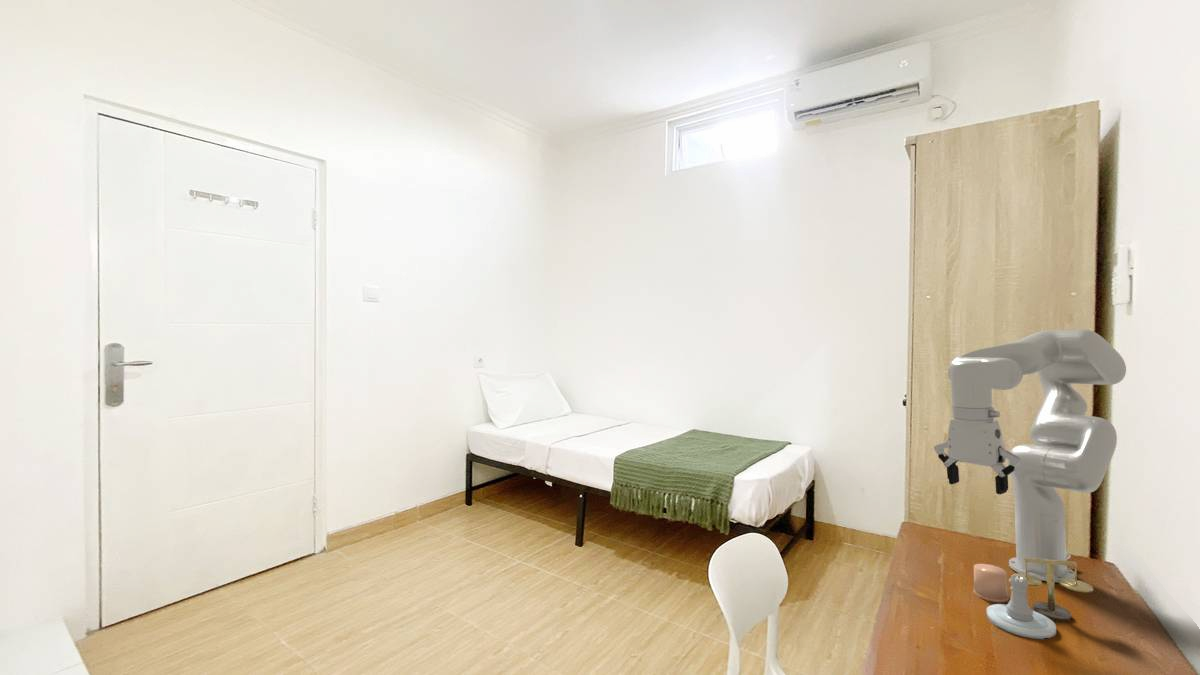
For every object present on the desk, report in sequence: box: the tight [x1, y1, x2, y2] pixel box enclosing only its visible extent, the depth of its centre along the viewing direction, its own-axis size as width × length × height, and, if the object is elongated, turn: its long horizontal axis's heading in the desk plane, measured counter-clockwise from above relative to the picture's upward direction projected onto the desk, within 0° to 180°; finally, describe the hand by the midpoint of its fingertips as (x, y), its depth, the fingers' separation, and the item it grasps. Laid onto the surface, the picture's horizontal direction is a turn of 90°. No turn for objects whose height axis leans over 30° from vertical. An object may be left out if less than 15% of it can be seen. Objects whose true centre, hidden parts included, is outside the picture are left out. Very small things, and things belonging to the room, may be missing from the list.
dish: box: [986, 603, 1057, 640], centre depth 104 cm, size 11×11×1 cm
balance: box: [1011, 558, 1094, 622], centre depth 107 cm, size 6×14×12 cm, turn 25°
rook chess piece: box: [1006, 575, 1034, 622], centre depth 104 cm, size 4×4×8 cm
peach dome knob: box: [972, 563, 1010, 604], centre depth 116 cm, size 6×6×6 cm
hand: (976, 487), depth 116 cm, fingers open, 9 cm apart
